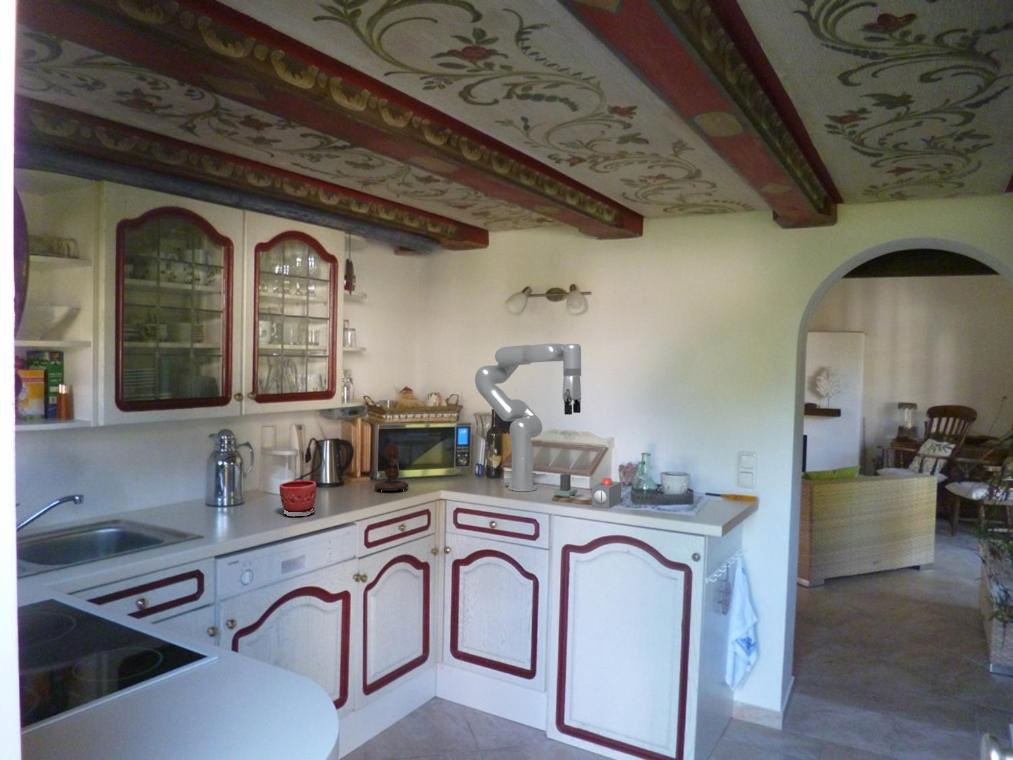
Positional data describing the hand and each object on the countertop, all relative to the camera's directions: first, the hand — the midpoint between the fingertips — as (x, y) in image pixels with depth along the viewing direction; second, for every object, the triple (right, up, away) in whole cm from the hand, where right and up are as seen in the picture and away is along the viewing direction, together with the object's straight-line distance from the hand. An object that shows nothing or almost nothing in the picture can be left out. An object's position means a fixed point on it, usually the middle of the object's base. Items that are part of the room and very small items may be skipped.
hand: (572, 413), depth 304 cm
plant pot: (-105, -36, -37) cm, 117 cm away
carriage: (-4, -33, -9) cm, 34 cm away
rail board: (+1, -35, -11) cm, 37 cm away
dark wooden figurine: (-78, -34, +11) cm, 86 cm away
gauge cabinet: (+12, -35, -17) cm, 41 cm away
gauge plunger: (+12, -30, -17) cm, 37 cm away
